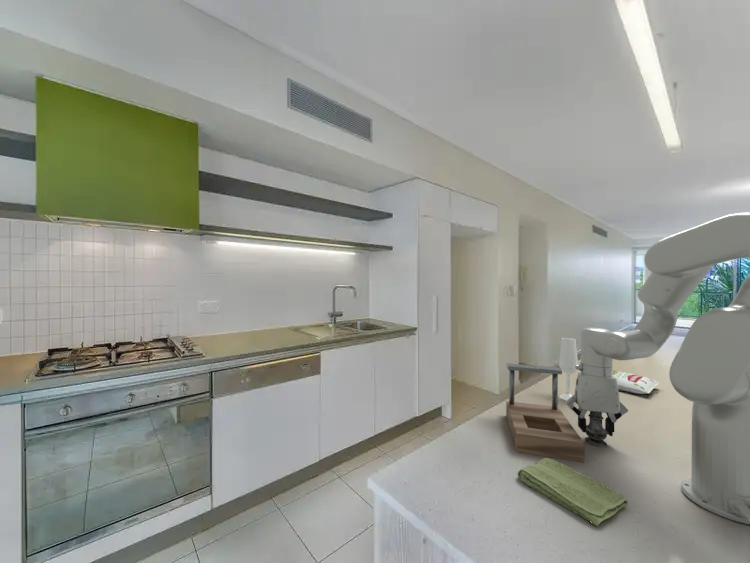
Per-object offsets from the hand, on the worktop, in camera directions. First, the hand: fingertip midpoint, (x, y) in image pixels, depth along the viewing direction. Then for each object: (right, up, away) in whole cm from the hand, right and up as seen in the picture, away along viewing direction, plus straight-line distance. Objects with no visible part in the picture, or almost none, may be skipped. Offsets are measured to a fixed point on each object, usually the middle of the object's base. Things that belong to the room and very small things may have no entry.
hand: (595, 431), depth 89 cm
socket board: (-15, -3, +3) cm, 15 cm away
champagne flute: (+14, -4, +34) cm, 37 cm away
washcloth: (-22, -3, -22) cm, 31 cm away
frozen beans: (+47, -4, +50) cm, 69 cm away
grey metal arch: (-12, +2, +13) cm, 18 cm away
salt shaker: (0, -3, 0) cm, 3 cm away
